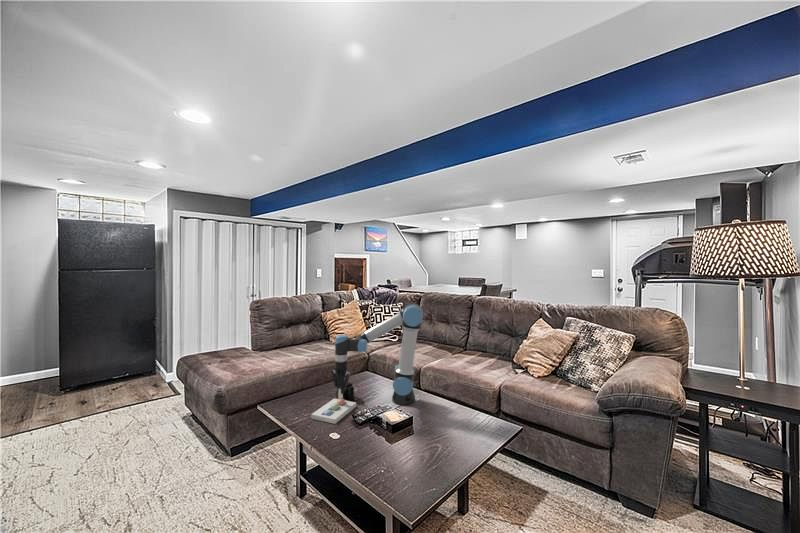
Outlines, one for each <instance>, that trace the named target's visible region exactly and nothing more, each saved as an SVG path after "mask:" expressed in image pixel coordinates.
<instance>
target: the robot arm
mask: <svg viewBox="0 0 800 533" xmlns="http://www.w3.org/2000/svg"><path fill="white" fill-rule="evenodd" d="M423 317H424V312H423V309H422V307H421V306H420V305H419V304H418V303H415V302H414V303H413V302H412V303H408V304H407V305H405V306H404V307H403V308H401V309H399V310H398V313H396V314H394V315H391V316H390V317H388V318H386V319H385V320H383V321H380V323H378V324H376V325H374V326H372V327H370V328H369V329H367V330H365V331H364V332H362V333H361V332H360V333H359V334H357V335H356V336H355V338H348V334H347V335H346V334H339V335H338V334H337V335H336V336H335V340H334V342H335V343H334V347H335V348H334V349H335V351H334V369H333V370H331V371H330V372H331V375H332V379H333V384H334V388H337V390H336V391H337V392H338V399H342V398H343V393H344V388H346V387H347V384H348V383H349V380H350V376H351V374H352V373H351V372H350V371H349V370H348V352H354V353H355V352H356V353H362V352H364V353H366V352H367V349H368V344H369V343H371V342H373V341H374V340H376V339H378V338H380V337H382V336H383V335H386V334H387V333H389V332H391V331H393V330H394V329H396V328H398V327H400V326H401V327H402V329H403V332H402V339H401V346H400V355H399V361H398V364H397V365H395V367H394V375H393V376H394V378H393V382H392V389H393V393H392V396H391V401H392V403H394V404H396V405H398V406H399V405H400V406H409V405H413V404H414V403H415V402H416V394H415V391H414V388H413V387H414V384H413V383H414V377H415V371H414V367H413V366H414V360H415V352H416V344H417V339H418V332H419V331H420V330H421V328H422V322H423V319H424V318H423Z"/></svg>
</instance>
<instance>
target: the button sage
mask: <svg viewBox="0 0 800 533" xmlns="http://www.w3.org/2000/svg"><path fill="white" fill-rule="evenodd" d="M338 409H339V404H338V403H333V404H331V410H333V411H337V410H338Z"/></svg>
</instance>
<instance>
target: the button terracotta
mask: <svg viewBox="0 0 800 533" xmlns="http://www.w3.org/2000/svg"><path fill="white" fill-rule="evenodd" d="M337 403H338V404H339V406H344V405H345V399H338V400H337Z"/></svg>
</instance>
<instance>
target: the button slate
mask: <svg viewBox="0 0 800 533" xmlns="http://www.w3.org/2000/svg"><path fill="white" fill-rule="evenodd" d="M324 415H326V416H331V415H332V410H325V411H324Z"/></svg>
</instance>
